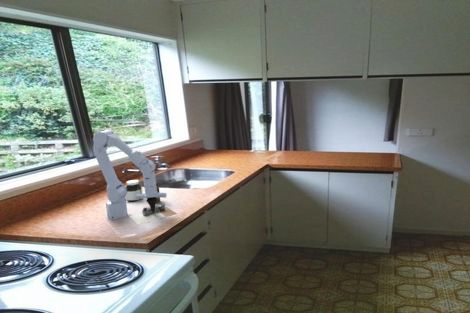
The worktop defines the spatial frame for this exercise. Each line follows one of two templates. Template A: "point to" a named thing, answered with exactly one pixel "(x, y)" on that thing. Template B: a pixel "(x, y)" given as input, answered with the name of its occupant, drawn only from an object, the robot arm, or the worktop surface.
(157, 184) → the condiment
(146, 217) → the door board
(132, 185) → the spread jar
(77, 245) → the worktop surface
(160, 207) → the latch bar
